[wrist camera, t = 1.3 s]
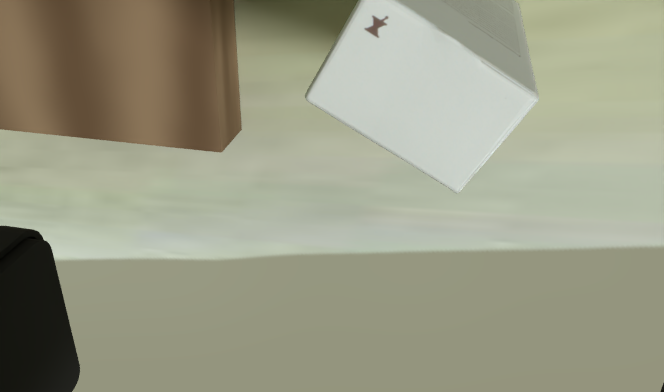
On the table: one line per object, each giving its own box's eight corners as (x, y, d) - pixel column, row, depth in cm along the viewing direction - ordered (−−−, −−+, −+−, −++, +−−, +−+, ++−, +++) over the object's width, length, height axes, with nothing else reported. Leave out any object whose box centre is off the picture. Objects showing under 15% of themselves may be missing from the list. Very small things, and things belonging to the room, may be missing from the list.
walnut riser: (226, -119, 29) (200, -115, 26) (241, 129, 34) (221, 152, 32) (-47, -126, 31) (-94, -123, 29) (11, 106, 37) (-25, 126, 34)
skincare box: (361, 11, 30) (295, 97, 20) (410, -72, 28) (366, -24, 18) (467, 81, 31) (457, 200, 20) (524, 5, 28) (546, 94, 18)
